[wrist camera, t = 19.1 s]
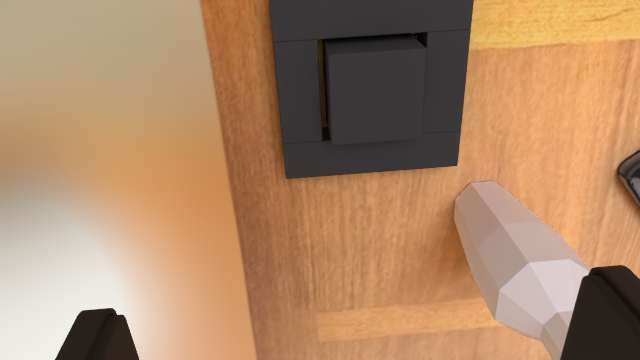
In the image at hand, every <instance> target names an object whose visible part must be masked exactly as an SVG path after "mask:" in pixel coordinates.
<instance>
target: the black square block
mask: <svg viewBox="0 0 640 360" xmlns="http://www.w3.org/2000/svg"><path fill="white" fill-rule="evenodd" d="M426 52H427V49H426V48H425V47H424V46H423V45H422V44H421V43H420V42H419V41H418V40H417V39H416V38H415V37H414V36H413V35H412V34H410V33H406V34H391V35H376V36H361V37H346V38H331V39H323V55H324V77H325V98H326V120H327V124H328V129H329V134H330V139H331V143H332V145H343V144H357V143H370V142H384V141H397V140H411V139H421V138H422V124H423V106H424V88H425V70H426Z"/></svg>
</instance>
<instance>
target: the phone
mask: <svg viewBox="0 0 640 360" xmlns="http://www.w3.org/2000/svg"><path fill="white" fill-rule="evenodd" d="M618 175H619V178H620V179H621V181H622V182H623V184H624V185H625V187H626V188H627V190H628V191H629V193H630V194H631V196H632V197H633V199H634V200H635V202H636V203H637V205H638V206H639V208H640V151H639V152H638V153H636V154H635V155H633V156H632V157H630V158H629V159H627V160H626V161H625V162H624V163H623V164H622V165H621V166H620V168H619V171H618Z"/></svg>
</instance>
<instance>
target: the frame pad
mask: <svg viewBox="0 0 640 360" xmlns="http://www.w3.org/2000/svg"><path fill="white" fill-rule="evenodd" d="M269 7H270V17H271V27H272V38H273V48H274V59H275V69H276V79H277V90H278V100H279V111H280V121H281V131H282V142H283V152H284V163H285V173H286V179H291V178H304V177H317V176H330V175H343V174H357V173H370V172H383V171H396V170H409V169H423V168H436V167H449V166H457V164H458V154H459V143H460V133H461V123H462V113H463V103H464V93H465V82H466V72H467V62H468V52H469V41H470V31H471V30H470V29H471V21H472V10H473V0H269ZM406 33H418V38H417V40H418V41H419V42H420V43H421V44H422V45H423V46H424V47H425V48H426V49H427V52H426V70H425V88H424V106H423V124H422V138H421V139H411V140H397V141H384V142H370V143H357V144H343V145H332V143H331V139H330V134H329V129H328V127H324V128H322V119H321V100H320V81H319V62H318V42H317V39H331V38H346V37H361V36H376V35H391V34H406Z"/></svg>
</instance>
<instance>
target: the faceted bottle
mask: <svg viewBox="0 0 640 360" xmlns="http://www.w3.org/2000/svg"><path fill="white" fill-rule="evenodd" d="M454 221H455V224H456V227H457V230H458V233H459V236H460V239H461V242H462V246H463V249H464V252H465V255H466V258H467V261H468V264H469V268H470V271H471V274H472V277H473V279H474V281H475V283H476V285H477V287H478V289H479V291H480V292H481V294H482V296H483V298H484V300H485V302H486V304H487V306H488V308H489V310H490V312H491V314H492V315H493V317H494V319H495V320H496V321H498V322H500V323H501V324H503V325H505V326H507V327H509V328H511V329H512V330H514V331H516V332H518V333H520V334H522V335H524V336H527V337H530V338H533V339H535V340H538V341H541V342H542V343H543V344H544V346H545V348H546V349H547V351H548V353H549V354H550V356H551V358H552V359H553V360H560V358H561V354H562V350H563V346H564V343H565V339H566V335H567V332H568V328H569V324H570V321H571V317H572V313H573V310H574V306H575V302H576V299H577V295H578V291H579V288H580V284H581V280H582V278H583V277H584V276H586V275H588V274H589V272H590V268H589V267H588V266H587V265H586V264H585V263H584V261H583V260H582V259H581V258H580V257H579V256H578V255H577V253H576V252H575V251H574V250H573V249H572V248H571V246H570V245H569V244H568V243H567V242H566V241H565V240H564V238H563V237H562V236H561V235H559V234H558V233H557V232H556V231H555V230H553V229H552V228H551V227H550V226H549V225H548V224H546V223H545V222H544V221H543V220H542V219H540V218H539V217H538V216H537V215H536V214H535V213H533V212H532V211H531V210H530V209H529V208H527V207H526V206H525V205H524V204H523V203H522V202H520V201H519V200H518V199H517V198H516V197H514V196H513V195H512V194H511V193H510V192H509V191H507V190H506V189H504V188H503V187H501V186H500V185H498V184H497V183H495V182H494V181H484V182H472V183H470V184H469V185H468V186H467V187H466V188H465V189H464V190H463V191H462V192H461V193H460V194H459V196H458V197H457V198H456V199H455V207H454Z"/></svg>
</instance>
